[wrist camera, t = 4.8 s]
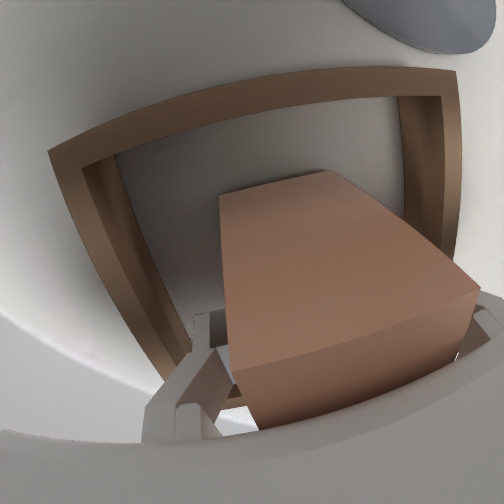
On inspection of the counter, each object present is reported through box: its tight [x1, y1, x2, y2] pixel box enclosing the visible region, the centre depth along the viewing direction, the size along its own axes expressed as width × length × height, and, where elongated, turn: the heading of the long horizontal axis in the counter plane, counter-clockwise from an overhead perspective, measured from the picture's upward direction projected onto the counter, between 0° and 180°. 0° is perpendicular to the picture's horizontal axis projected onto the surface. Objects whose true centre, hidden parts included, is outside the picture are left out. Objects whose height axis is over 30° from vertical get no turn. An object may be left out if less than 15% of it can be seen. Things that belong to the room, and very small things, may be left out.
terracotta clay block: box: [219, 170, 481, 430], centre depth 9 cm, size 8×4×8 cm, turn 12°
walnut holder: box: [48, 66, 462, 410], centre depth 12 cm, size 14×14×3 cm
